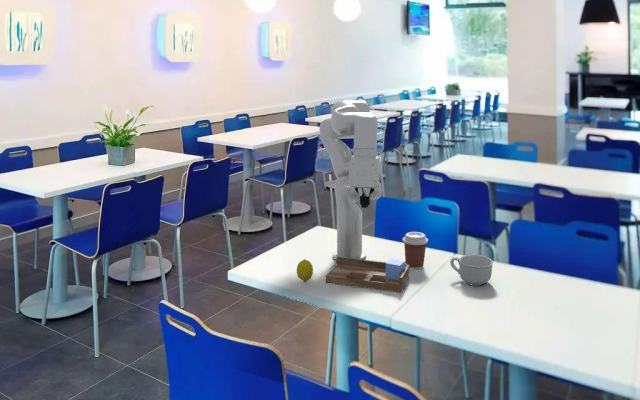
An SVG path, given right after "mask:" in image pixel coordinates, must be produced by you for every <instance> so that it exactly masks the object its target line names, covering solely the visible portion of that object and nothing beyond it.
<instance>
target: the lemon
mask: <svg viewBox="0 0 640 400" xmlns="http://www.w3.org/2000/svg"><path fill="white" fill-rule="evenodd" d="M313 267H314V266H313V264H312V263H311V261H309V260H308V259H302V260H300V261H299V262H298V264H297V266H296V274H297V275H296V276H297V277H298V279H300V280H301V281H303V283H306V282H307V281H309V280H310V279H311V278H312V277H313V274H314V268H313Z"/></svg>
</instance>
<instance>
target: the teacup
mask: <svg viewBox="0 0 640 400" xmlns="http://www.w3.org/2000/svg"><path fill="white" fill-rule="evenodd" d="M454 261H457V263H458V265H459V268H458V267H457V265H455V264H454ZM449 263H450V267H451V268H452V269H453V270H454V271H456V272H457V274H458V275H459V278H461V280H462V281H464V283H466V284H467V283H468V284H467V285H470V284H472V285H471V286H475V285H479V286H483V285H485V284H487V283H488V282H489V281H491V278H492V272H493V263H494V261H493V260H492V259H491V258H489V257H488V256H485V255H481V254H466V255H463V256H461V257H460V258H459V257H458V256H455V257H452V258H451V259H450V262H449ZM482 284H483V285H482Z"/></svg>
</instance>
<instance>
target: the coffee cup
mask: <svg viewBox="0 0 640 400" xmlns="http://www.w3.org/2000/svg"><path fill="white" fill-rule="evenodd" d="M402 242H403V244H404V245H403V246H404V261H405V264H408V265H410V270H421V269H423V268H424V267H423V266H424V265H425V258H426V257H425V255H426V246H427V244H428V242H429V239H428V238H427V237H426V234H424V233H423V232H418V231H410V232H407V233H406V234H405V235H404V237H402ZM420 268H421V269H420Z"/></svg>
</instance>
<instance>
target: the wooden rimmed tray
mask: <svg viewBox="0 0 640 400" xmlns="http://www.w3.org/2000/svg"><path fill="white" fill-rule="evenodd" d="M386 262H387V261H378V260H369V259H363V260H361V259H352V258H343V257H337V260H336V264H335V265H334V266H333V267H332V269H331V270H330V271H329V272H328V273H327V274H326V275H325V276H324V277H325V278H324V279H325V284H329V285H330V284H331V285H339V286H346V287H347V286H348V287H355V288H364V289H372V290H379V291H387V292H396V293H403V291H404V289H405V287H406V285H407V283H408V282H409V280H410V273H411V272H410V270H411V269H410V265H408V264H406V263H405V269H404V271H403V273H402V274H401V276H400V278H399V280H397V279H392V278H387V277H385V268H386Z"/></svg>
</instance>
